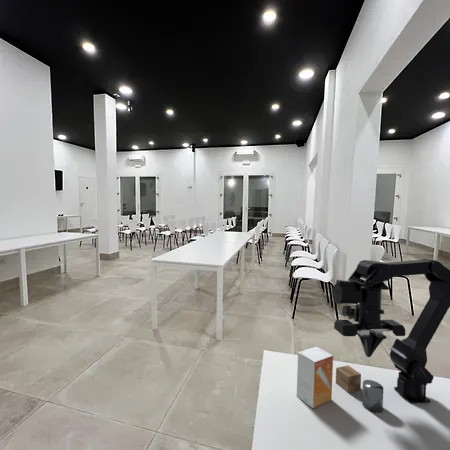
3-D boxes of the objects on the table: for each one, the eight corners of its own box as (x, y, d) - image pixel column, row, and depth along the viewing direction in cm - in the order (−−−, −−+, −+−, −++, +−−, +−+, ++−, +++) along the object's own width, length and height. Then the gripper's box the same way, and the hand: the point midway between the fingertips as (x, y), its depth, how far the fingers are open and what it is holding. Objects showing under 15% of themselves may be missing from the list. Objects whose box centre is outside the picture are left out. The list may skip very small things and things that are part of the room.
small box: (313, 409, 71) (314, 362, 70) (295, 395, 76) (297, 351, 76) (332, 399, 75) (333, 355, 75) (314, 387, 80) (315, 345, 80)
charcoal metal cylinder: (375, 400, 75) (375, 379, 75) (387, 413, 70) (387, 391, 70) (358, 400, 75) (359, 380, 75) (369, 413, 70) (370, 391, 70)
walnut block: (347, 380, 84) (348, 365, 84) (360, 390, 80) (361, 373, 80) (335, 383, 83) (336, 367, 83) (347, 393, 78) (348, 376, 78)
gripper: (381, 296, 85) (379, 343, 85) (326, 295, 84) (324, 343, 84) (407, 307, 74) (405, 361, 74) (344, 307, 72) (343, 362, 73)
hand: (368, 356), depth 76 cm, fingers closed
